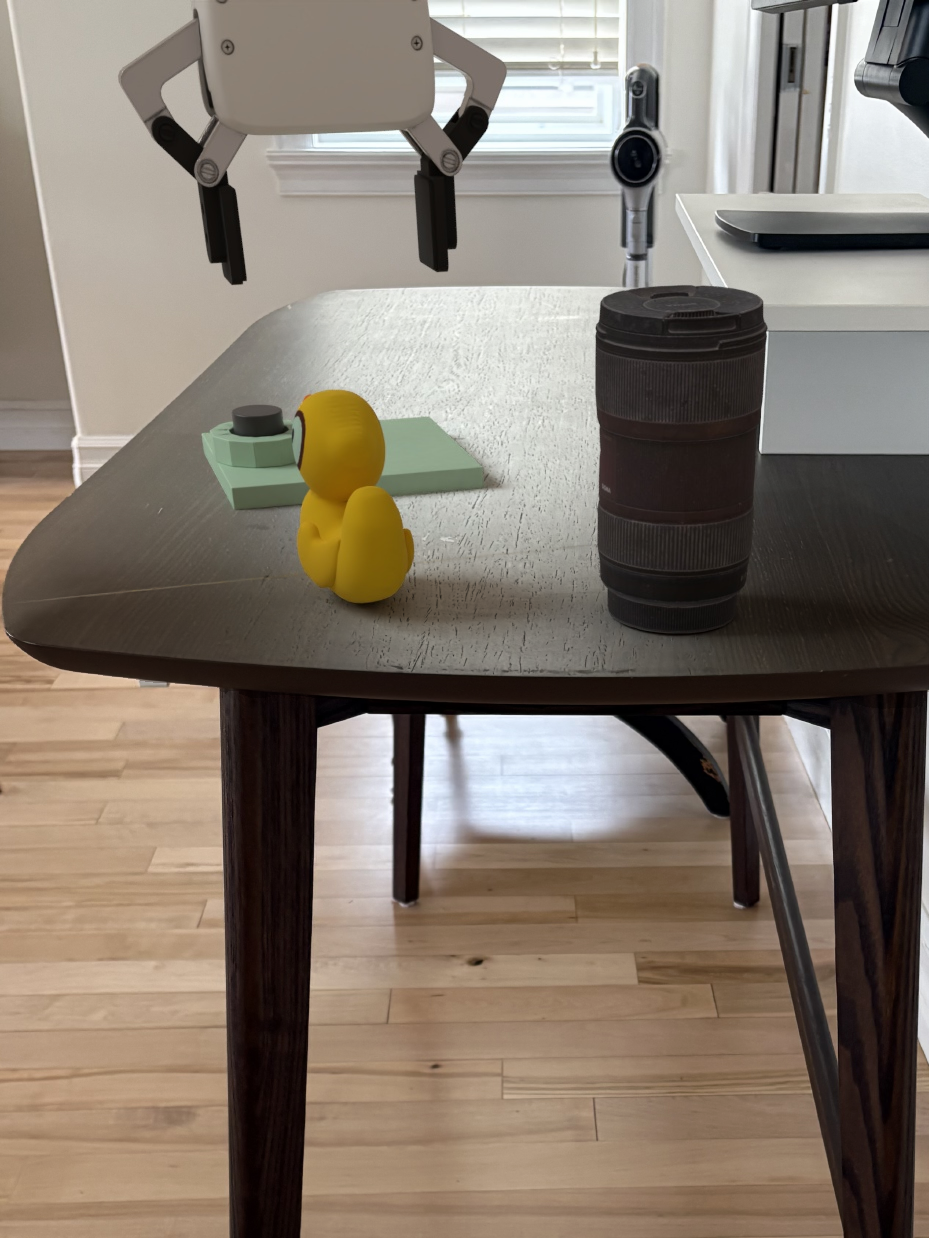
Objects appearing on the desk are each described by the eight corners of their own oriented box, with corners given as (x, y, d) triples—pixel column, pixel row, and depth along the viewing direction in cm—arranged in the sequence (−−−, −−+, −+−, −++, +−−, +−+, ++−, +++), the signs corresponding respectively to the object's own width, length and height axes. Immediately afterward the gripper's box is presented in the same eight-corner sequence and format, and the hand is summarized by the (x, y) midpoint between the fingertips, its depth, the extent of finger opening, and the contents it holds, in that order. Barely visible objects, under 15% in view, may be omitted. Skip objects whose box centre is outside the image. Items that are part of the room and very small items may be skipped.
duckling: (277, 567, 85) (255, 376, 79) (369, 555, 86) (354, 367, 81) (337, 634, 76) (317, 425, 70) (437, 619, 78) (426, 414, 72)
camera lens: (572, 596, 81) (572, 287, 72) (711, 580, 83) (727, 279, 75) (624, 648, 75) (631, 318, 66) (773, 630, 77) (799, 308, 68)
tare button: (238, 443, 96) (235, 418, 95) (231, 431, 99) (228, 406, 98) (288, 440, 97) (286, 414, 96) (280, 428, 99) (277, 403, 99)
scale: (233, 511, 93) (227, 460, 91) (203, 454, 104) (197, 408, 102) (484, 489, 97) (482, 440, 96) (430, 437, 108) (428, 392, 106)
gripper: (471, -176, 67) (488, 252, 77) (70, -184, 63) (143, 273, 73) (520, -190, 62) (532, 275, 72) (83, -199, 57) (160, 299, 67)
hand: (336, 274), depth 72 cm, fingers open, 9 cm apart
